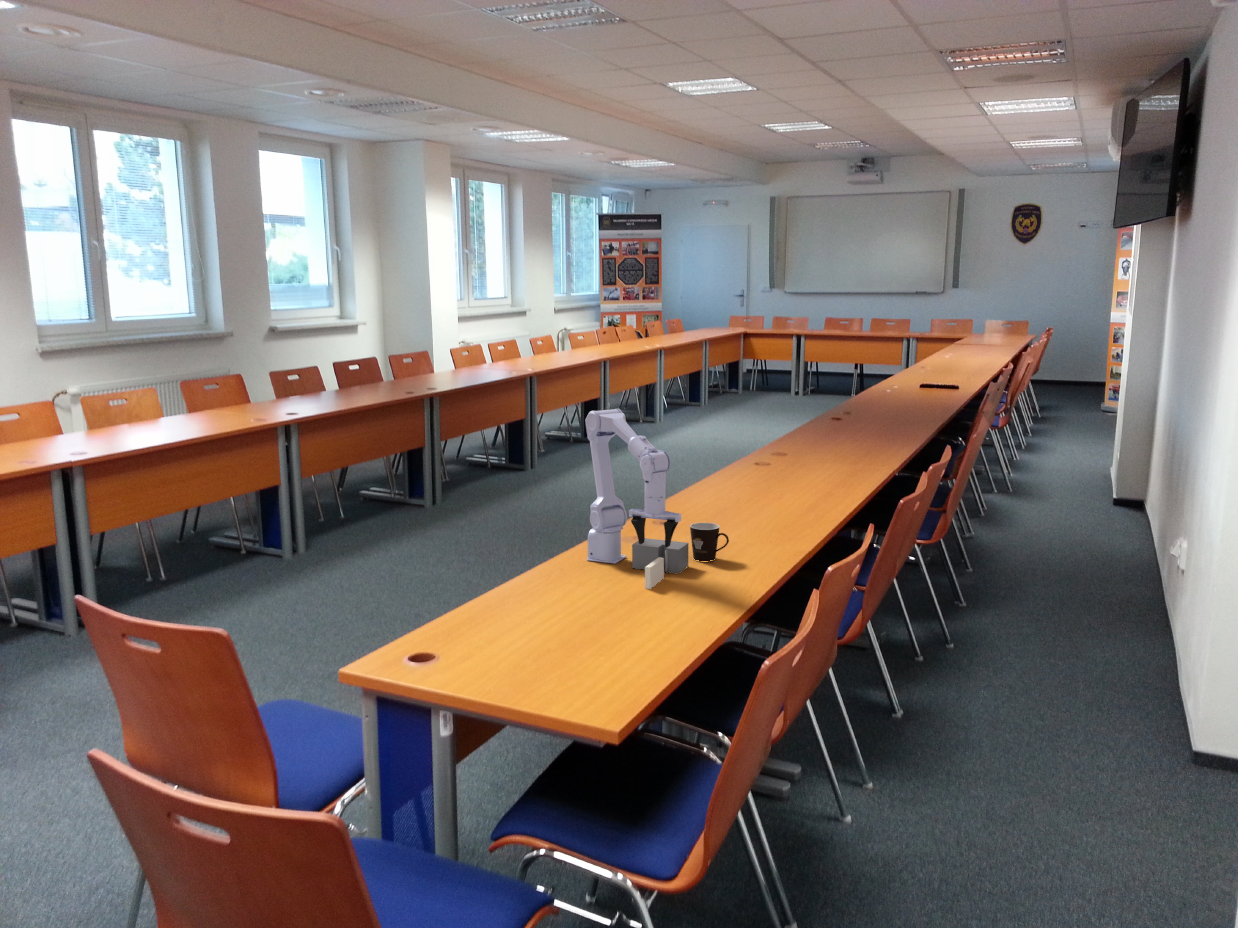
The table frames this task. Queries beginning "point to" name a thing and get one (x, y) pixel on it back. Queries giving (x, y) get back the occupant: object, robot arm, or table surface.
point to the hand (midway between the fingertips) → (654, 544)
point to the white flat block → (654, 573)
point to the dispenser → (660, 554)
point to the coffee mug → (705, 540)
